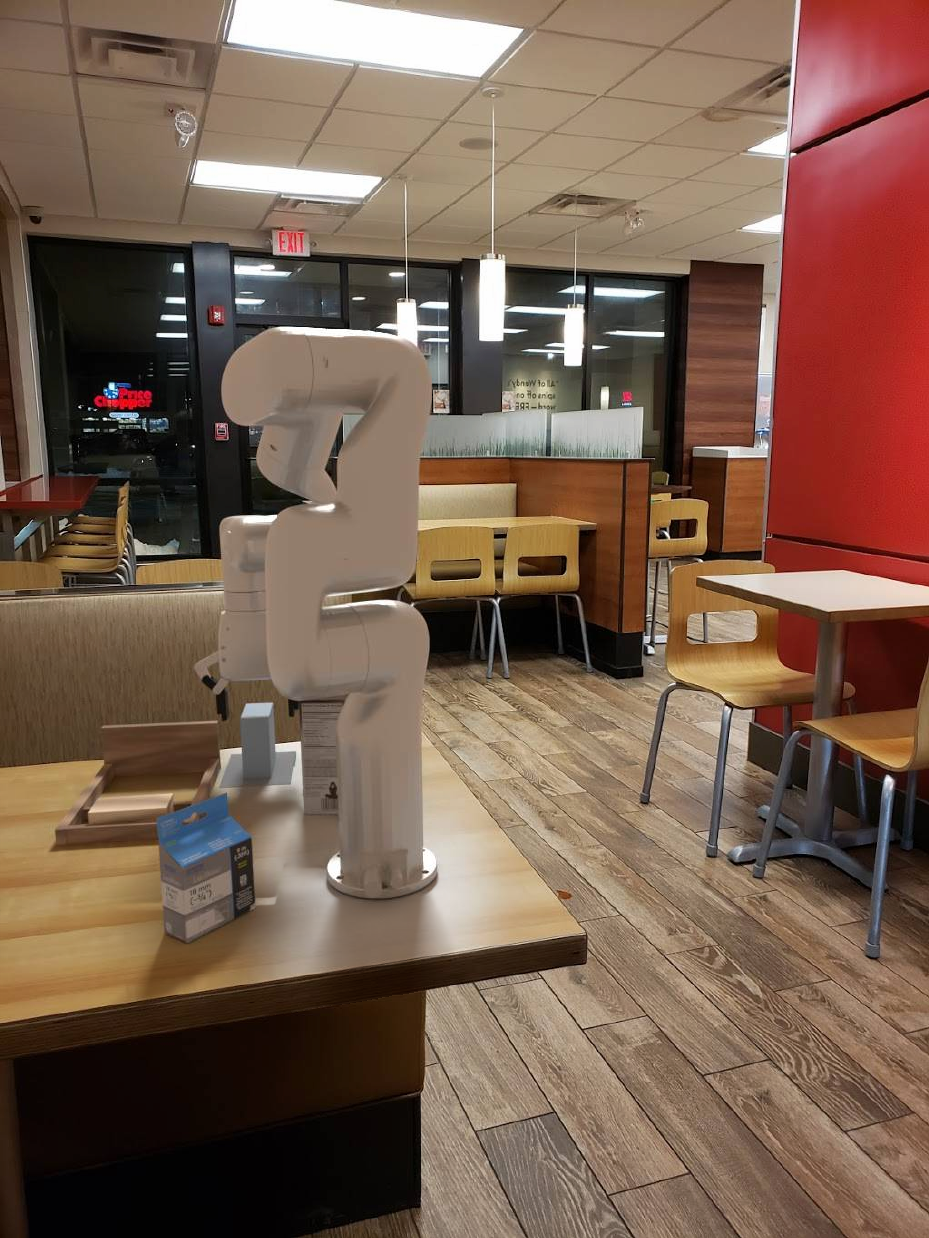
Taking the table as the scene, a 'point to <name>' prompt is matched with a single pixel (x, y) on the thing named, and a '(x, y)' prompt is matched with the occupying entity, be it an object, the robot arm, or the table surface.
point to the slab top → (130, 808)
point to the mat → (279, 777)
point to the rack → (144, 755)
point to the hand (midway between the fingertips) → (258, 716)
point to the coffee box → (320, 753)
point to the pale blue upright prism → (258, 740)
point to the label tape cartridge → (204, 869)
